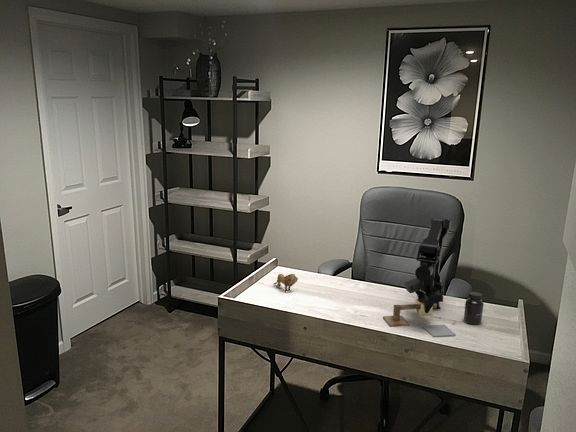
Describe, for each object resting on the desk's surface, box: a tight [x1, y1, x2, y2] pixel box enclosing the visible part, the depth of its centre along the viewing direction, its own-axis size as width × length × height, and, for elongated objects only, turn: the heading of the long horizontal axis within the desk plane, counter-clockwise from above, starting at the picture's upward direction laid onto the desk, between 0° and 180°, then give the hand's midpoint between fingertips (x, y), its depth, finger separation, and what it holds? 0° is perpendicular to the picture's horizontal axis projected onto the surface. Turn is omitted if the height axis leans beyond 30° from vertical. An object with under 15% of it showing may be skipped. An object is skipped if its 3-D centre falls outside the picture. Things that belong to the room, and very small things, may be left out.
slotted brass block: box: [414, 298, 434, 317], centre depth 192 cm, size 5×5×6 cm
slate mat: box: [422, 324, 457, 338], centre depth 184 cm, size 9×9×1 cm
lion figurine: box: [273, 273, 299, 292], centre depth 224 cm, size 15×5×9 cm, turn 45°
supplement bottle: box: [463, 291, 485, 326], centre depth 193 cm, size 7×7×12 cm
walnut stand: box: [382, 303, 437, 328], centre depth 192 cm, size 20×8×7 cm, turn 99°
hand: (423, 310), depth 193 cm, fingers closed on slotted brass block, 5 cm apart
